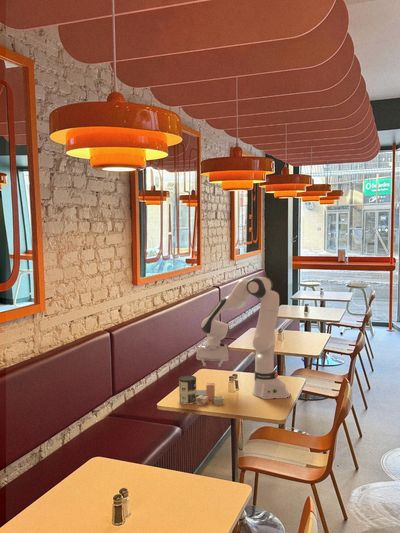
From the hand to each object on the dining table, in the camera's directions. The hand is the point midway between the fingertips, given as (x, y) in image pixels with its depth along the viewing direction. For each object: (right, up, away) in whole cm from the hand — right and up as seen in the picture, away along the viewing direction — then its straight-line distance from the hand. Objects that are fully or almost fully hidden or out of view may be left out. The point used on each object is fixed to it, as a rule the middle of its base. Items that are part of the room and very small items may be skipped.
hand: (211, 366), depth 305 cm
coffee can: (-14, -18, -15) cm, 27 cm away
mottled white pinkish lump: (-6, -18, -19) cm, 27 cm away
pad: (-6, -17, -2) cm, 18 cm away
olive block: (+3, -18, -19) cm, 26 cm away
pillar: (-1, -17, -11) cm, 21 cm away
